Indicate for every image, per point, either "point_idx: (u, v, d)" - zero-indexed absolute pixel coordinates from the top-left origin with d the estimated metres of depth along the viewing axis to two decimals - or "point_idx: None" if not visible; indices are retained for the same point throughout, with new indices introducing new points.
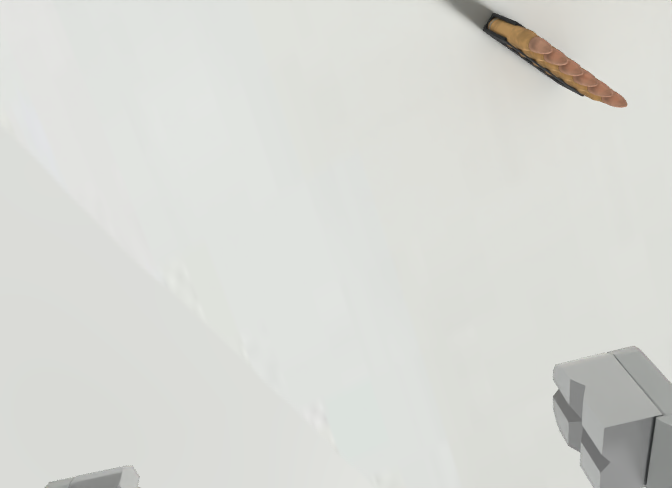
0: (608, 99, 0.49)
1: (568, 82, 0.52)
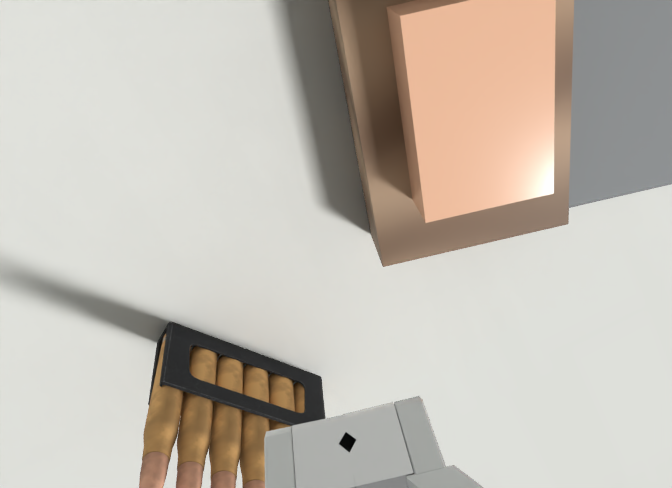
0: None
1: None
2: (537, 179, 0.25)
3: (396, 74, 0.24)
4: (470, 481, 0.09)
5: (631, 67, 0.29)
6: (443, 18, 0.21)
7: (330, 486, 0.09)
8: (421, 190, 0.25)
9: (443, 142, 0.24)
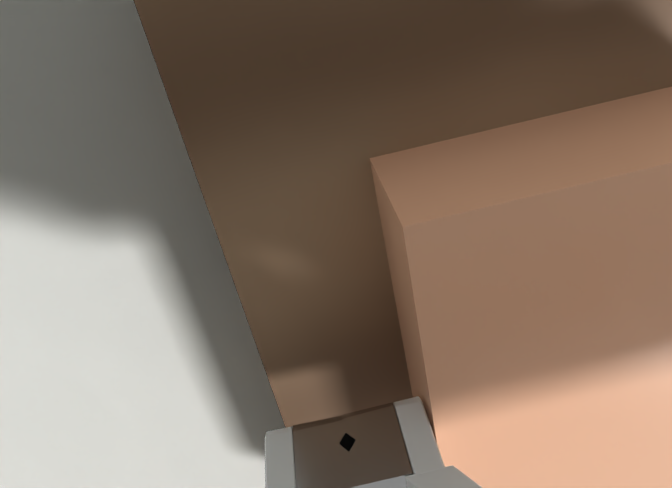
0: None
1: None
2: None
3: (395, 292, 0.11)
4: (469, 482, 0.09)
5: None
6: (521, 225, 0.08)
7: (330, 486, 0.09)
8: None
9: (505, 462, 0.10)
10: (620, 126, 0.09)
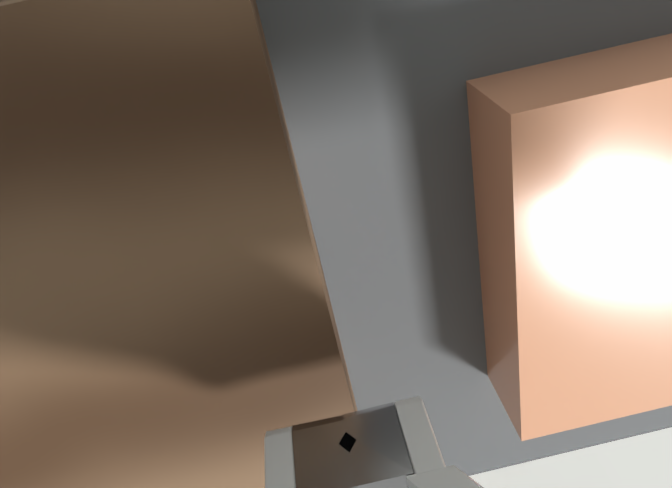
0: None
1: None
2: None
3: None
4: (470, 481, 0.09)
5: None
6: None
7: (330, 486, 0.09)
8: None
9: None
10: (596, 73, 0.11)
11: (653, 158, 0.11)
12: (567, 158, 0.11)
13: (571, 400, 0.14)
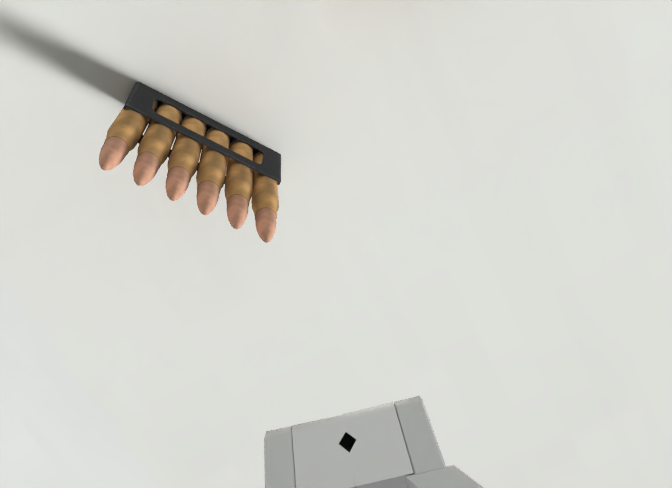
0: (256, 225, 0.32)
1: None
2: None
3: None
4: (470, 481, 0.09)
5: None
6: None
7: (330, 486, 0.09)
8: None
9: None
10: None
11: None
12: None
13: None
